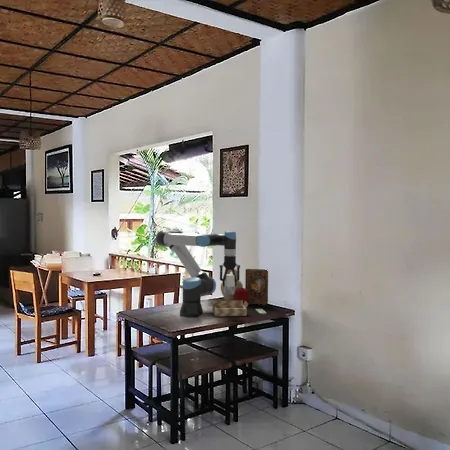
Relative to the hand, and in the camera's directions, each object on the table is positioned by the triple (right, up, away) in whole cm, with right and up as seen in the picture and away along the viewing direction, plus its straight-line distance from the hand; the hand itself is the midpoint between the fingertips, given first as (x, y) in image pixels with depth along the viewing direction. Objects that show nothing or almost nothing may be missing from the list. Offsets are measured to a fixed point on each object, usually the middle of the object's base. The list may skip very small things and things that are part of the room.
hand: (229, 291), depth 313 cm
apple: (+9, -15, +33) cm, 37 cm away
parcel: (0, -1, 0) cm, 1 cm away
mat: (+17, -15, +11) cm, 26 cm away
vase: (+2, -14, +49) cm, 51 cm away
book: (+20, -15, +39) cm, 46 cm away
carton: (0, -16, 0) cm, 16 cm away
